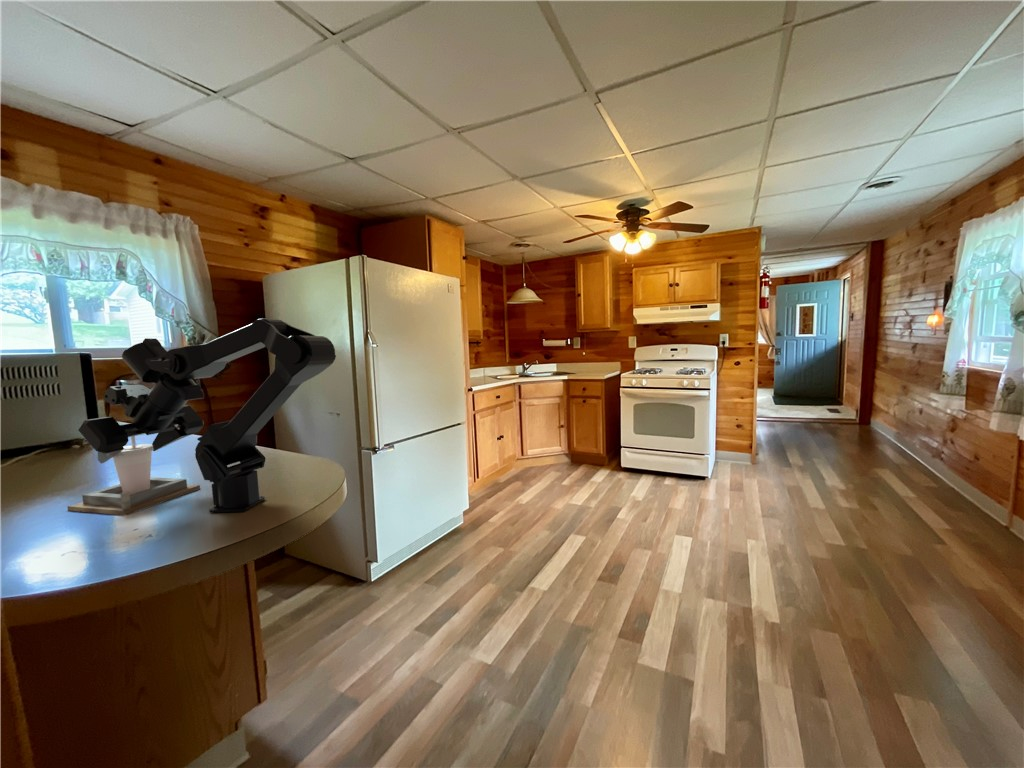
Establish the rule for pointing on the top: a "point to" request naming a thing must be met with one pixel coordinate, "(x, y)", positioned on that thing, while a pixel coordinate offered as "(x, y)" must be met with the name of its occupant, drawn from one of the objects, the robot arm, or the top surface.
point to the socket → (132, 497)
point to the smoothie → (134, 467)
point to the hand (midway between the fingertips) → (128, 455)
